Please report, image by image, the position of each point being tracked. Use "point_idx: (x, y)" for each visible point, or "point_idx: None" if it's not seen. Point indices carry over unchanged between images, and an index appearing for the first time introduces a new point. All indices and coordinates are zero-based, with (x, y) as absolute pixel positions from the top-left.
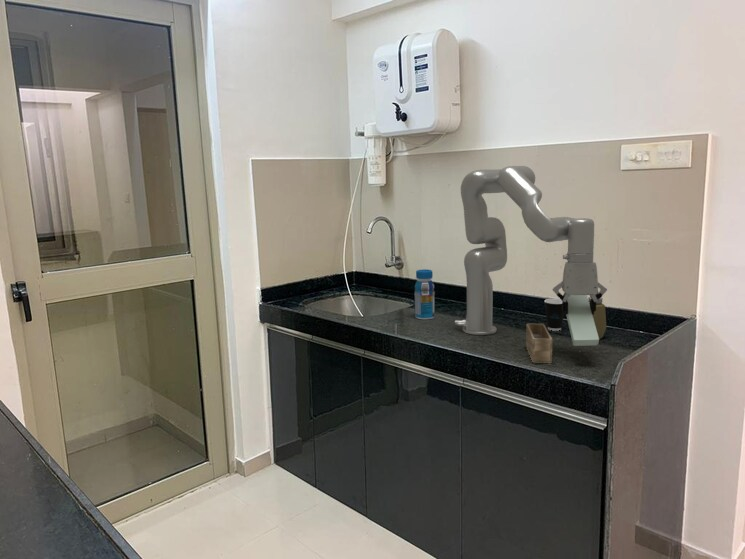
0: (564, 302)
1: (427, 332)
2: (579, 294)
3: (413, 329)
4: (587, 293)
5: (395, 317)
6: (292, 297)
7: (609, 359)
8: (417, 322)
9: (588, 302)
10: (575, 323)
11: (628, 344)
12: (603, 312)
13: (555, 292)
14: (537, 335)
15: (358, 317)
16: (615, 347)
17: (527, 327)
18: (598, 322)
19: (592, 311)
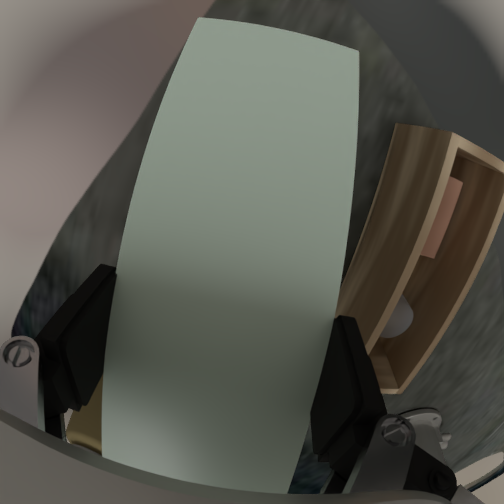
0: (377, 418)
1: (488, 411)
2: (222, 495)
3: (491, 421)
4: (52, 462)
5: (464, 461)
6: (487, 482)
7: (139, 145)
8: (458, 450)
9: (104, 410)
10: (309, 181)
11: (52, 292)
12: (75, 413)
13: (472, 499)
14: (395, 316)
15: (498, 449)
16: (86, 275)
17: (422, 360)
18: (101, 388)
19: (102, 280)
